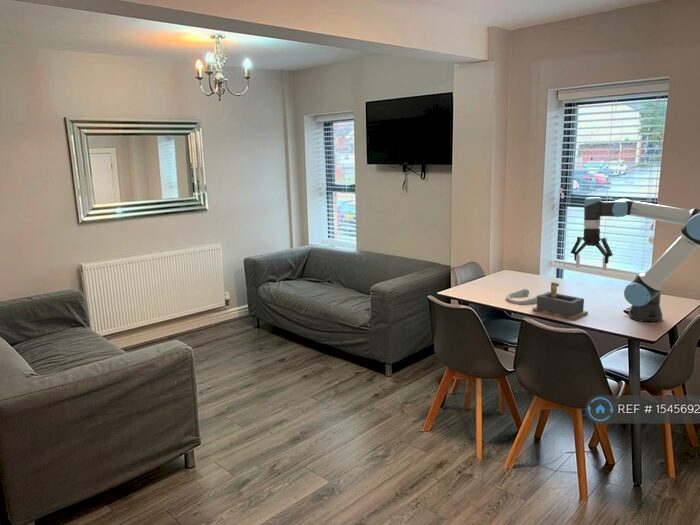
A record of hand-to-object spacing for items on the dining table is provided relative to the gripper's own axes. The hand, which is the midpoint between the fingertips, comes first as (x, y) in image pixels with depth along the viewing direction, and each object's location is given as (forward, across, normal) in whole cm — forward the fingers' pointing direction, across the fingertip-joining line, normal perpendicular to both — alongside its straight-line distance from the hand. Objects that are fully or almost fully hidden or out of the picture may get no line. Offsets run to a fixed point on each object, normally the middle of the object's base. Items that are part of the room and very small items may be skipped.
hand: (590, 268), depth 270 cm
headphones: (+24, +40, -4) cm, 47 cm away
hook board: (+25, +14, +5) cm, 29 cm away
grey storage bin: (+23, +14, +5) cm, 28 cm away
